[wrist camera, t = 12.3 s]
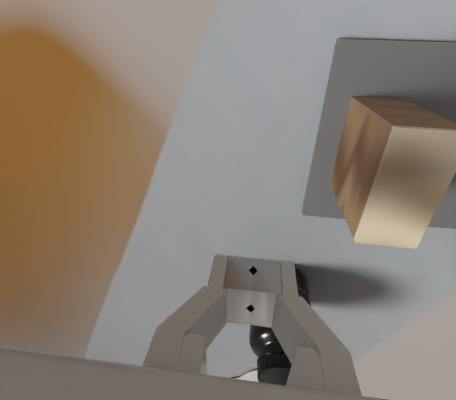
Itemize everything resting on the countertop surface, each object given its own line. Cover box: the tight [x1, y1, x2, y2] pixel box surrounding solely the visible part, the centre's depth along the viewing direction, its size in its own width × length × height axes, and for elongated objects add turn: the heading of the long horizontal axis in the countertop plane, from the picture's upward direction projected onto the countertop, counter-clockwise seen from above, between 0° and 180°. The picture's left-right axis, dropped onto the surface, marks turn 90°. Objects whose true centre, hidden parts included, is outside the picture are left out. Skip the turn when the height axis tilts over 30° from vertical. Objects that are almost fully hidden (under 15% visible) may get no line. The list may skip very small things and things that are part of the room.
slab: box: [330, 97, 456, 249], centre depth 20 cm, size 8×4×9 cm, turn 178°
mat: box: [302, 39, 456, 229], centre depth 24 cm, size 16×16×1 cm
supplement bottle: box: [250, 269, 311, 386], centre depth 30 cm, size 7×7×12 cm
